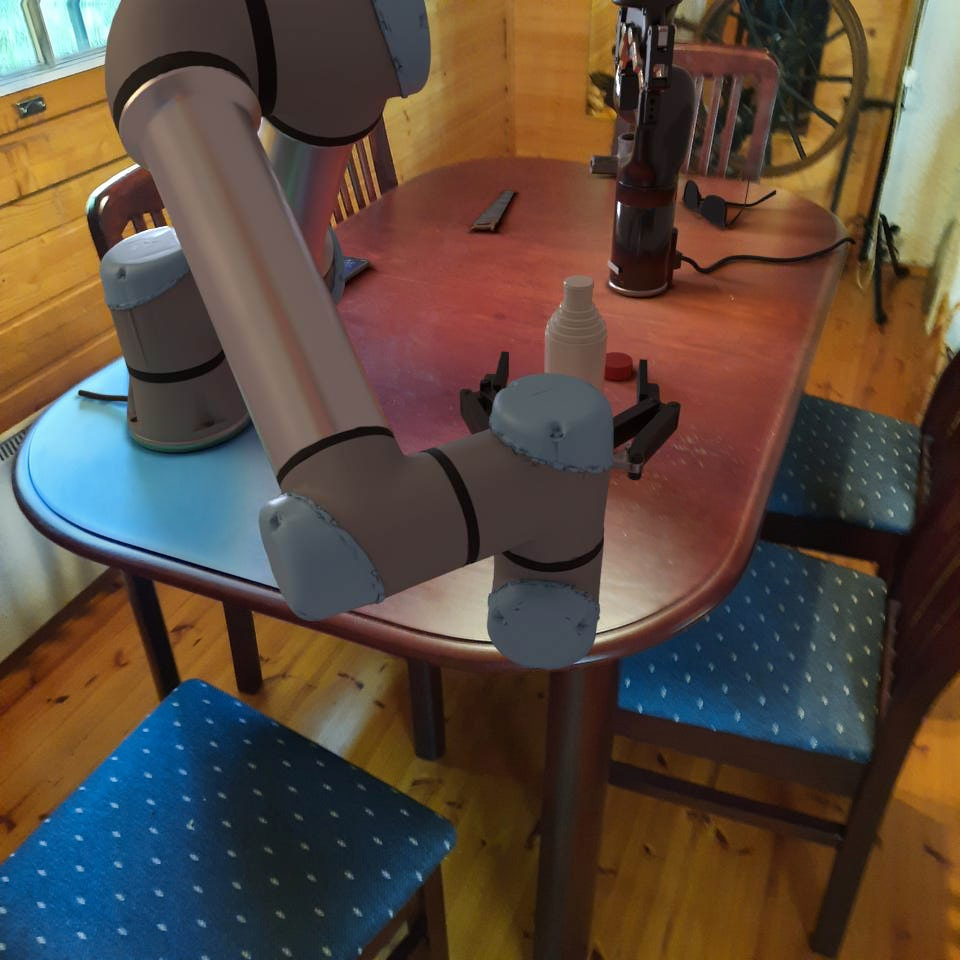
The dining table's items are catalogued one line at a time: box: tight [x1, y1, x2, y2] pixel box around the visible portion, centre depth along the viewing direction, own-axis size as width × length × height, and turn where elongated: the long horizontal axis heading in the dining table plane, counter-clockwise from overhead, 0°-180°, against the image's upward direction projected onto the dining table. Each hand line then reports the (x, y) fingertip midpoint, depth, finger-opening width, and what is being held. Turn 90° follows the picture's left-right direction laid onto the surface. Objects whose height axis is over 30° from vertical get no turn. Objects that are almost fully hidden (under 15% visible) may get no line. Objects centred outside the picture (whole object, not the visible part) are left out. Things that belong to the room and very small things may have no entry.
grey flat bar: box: [470, 189, 515, 232], centre depth 168 cm, size 24×5×1 cm, turn 168°
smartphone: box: [343, 255, 372, 283], centre depth 143 cm, size 7×1×15 cm
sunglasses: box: [681, 175, 777, 228], centre depth 163 cm, size 17×14×5 cm
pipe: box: [589, 131, 635, 176], centre depth 181 cm, size 6×13×8 cm, turn 95°
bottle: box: [543, 274, 609, 394], centre depth 96 cm, size 7×7×21 cm
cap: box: [604, 351, 634, 381], centre depth 115 cm, size 4×4×2 cm
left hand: (573, 367), depth 85 cm, fingers open, 13 cm apart
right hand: (637, 119), depth 97 cm, fingers open, 8 cm apart
